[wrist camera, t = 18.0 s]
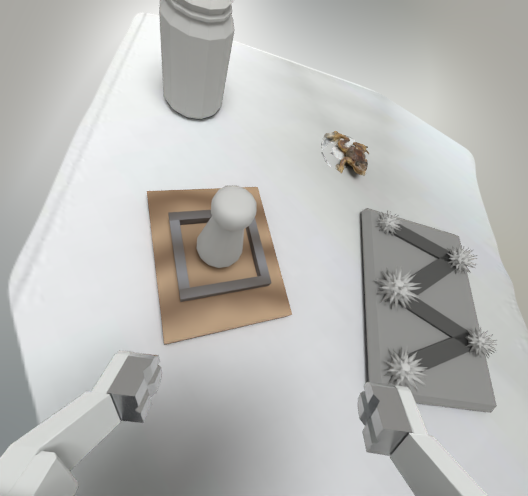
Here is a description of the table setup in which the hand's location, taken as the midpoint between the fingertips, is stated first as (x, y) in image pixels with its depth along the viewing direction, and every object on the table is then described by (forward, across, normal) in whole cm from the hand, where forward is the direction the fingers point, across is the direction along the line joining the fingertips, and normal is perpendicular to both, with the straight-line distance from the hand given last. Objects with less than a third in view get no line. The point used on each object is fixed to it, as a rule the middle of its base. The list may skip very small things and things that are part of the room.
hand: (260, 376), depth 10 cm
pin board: (+24, -7, -11) cm, 27 cm away
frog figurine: (+50, +13, -2) cm, 51 cm away
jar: (+46, -16, +5) cm, 49 cm away
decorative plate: (+29, +25, -20) cm, 43 cm away
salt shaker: (+23, -7, -10) cm, 26 cm away
